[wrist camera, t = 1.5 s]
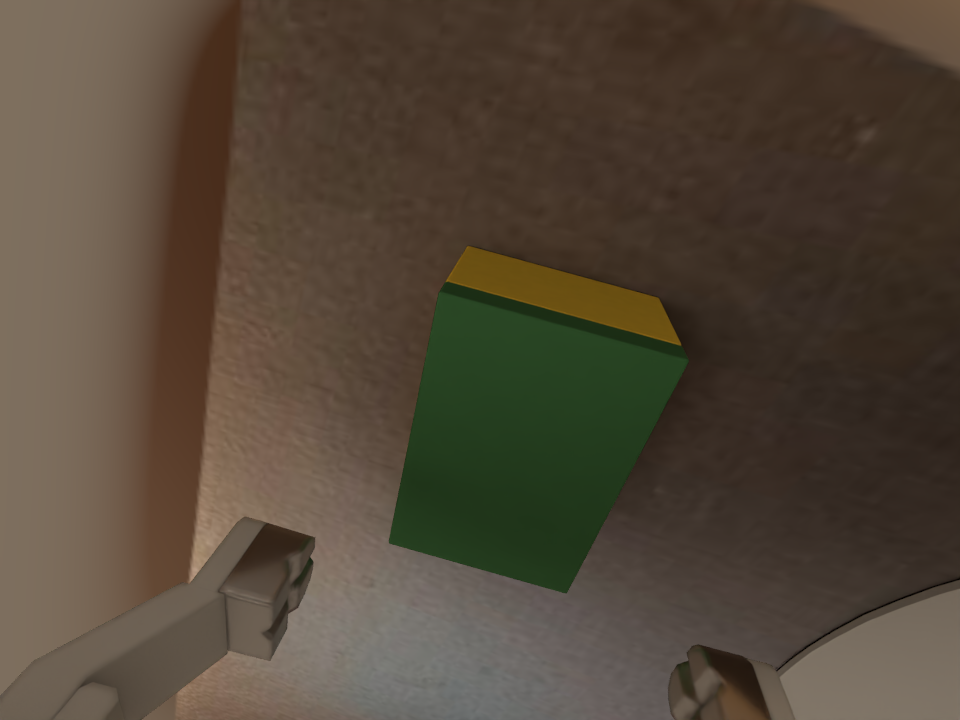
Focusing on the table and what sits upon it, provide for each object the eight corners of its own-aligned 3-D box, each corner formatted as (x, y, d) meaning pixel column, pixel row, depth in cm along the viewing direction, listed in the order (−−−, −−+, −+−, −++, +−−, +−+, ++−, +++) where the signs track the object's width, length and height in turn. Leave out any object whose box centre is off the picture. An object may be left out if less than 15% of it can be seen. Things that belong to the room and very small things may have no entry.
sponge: (467, 244, 15) (438, 291, 11) (659, 297, 14) (690, 360, 11) (419, 462, 19) (388, 543, 16) (565, 503, 19) (566, 594, 16)
